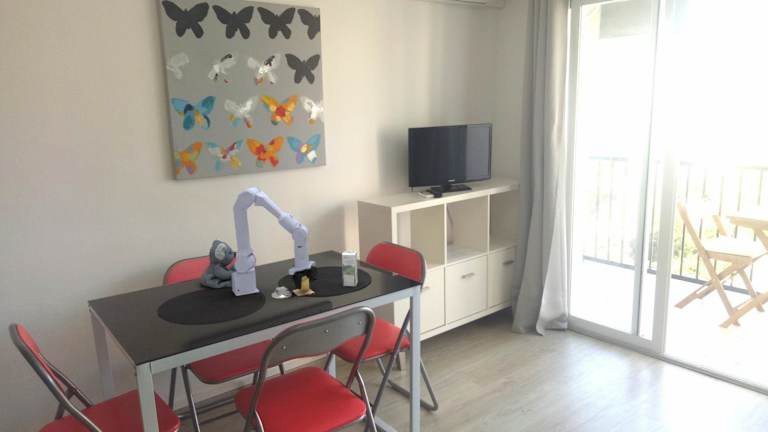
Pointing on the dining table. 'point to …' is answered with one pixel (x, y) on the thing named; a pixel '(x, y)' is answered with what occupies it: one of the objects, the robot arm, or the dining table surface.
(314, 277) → the black open frame block
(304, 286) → the yellow cube
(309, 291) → the pad
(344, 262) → the syrup box
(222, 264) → the koala plush
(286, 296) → the grey lumpy disc
